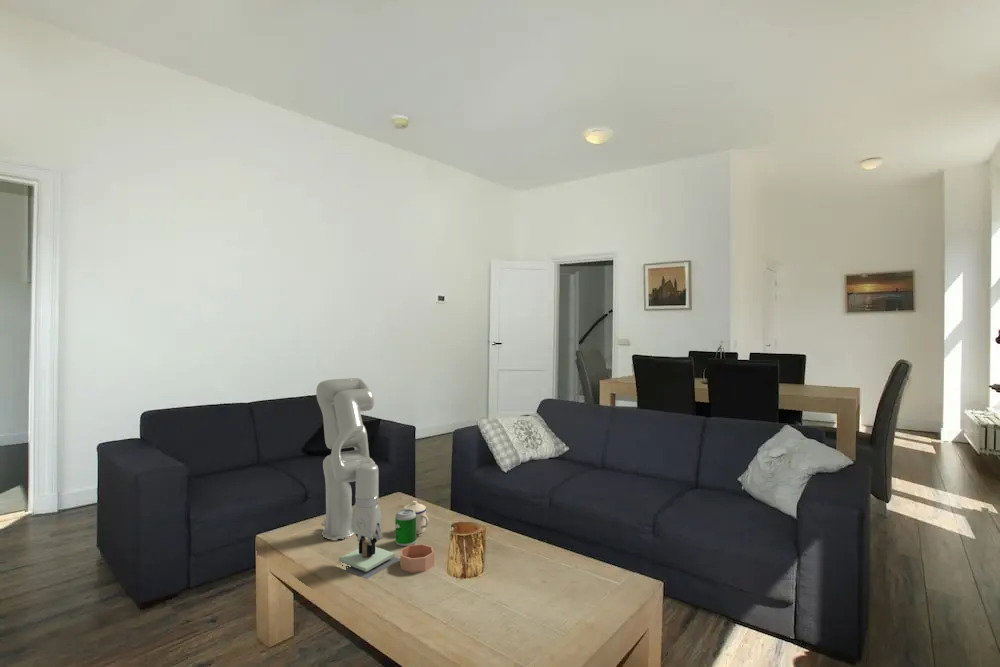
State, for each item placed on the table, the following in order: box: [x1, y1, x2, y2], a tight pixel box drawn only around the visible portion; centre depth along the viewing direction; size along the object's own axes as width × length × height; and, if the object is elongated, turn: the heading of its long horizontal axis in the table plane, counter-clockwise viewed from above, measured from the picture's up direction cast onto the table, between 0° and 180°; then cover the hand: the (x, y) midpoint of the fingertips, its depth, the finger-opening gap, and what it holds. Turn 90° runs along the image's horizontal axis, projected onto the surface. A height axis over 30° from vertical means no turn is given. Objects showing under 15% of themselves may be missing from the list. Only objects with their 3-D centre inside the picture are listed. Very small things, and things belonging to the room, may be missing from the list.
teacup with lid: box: [402, 500, 430, 535], centre depth 205 cm, size 12×9×12 cm
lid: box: [338, 538, 396, 572], centre depth 178 cm, size 13×13×6 cm
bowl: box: [399, 543, 435, 573], centre depth 177 cm, size 11×11×5 cm
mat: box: [342, 556, 400, 580], centre depth 178 cm, size 16×16×1 cm
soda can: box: [394, 509, 417, 547], centre depth 194 cm, size 8×8×12 cm
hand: (367, 553), depth 178 cm, fingers closed on lid, 3 cm apart
